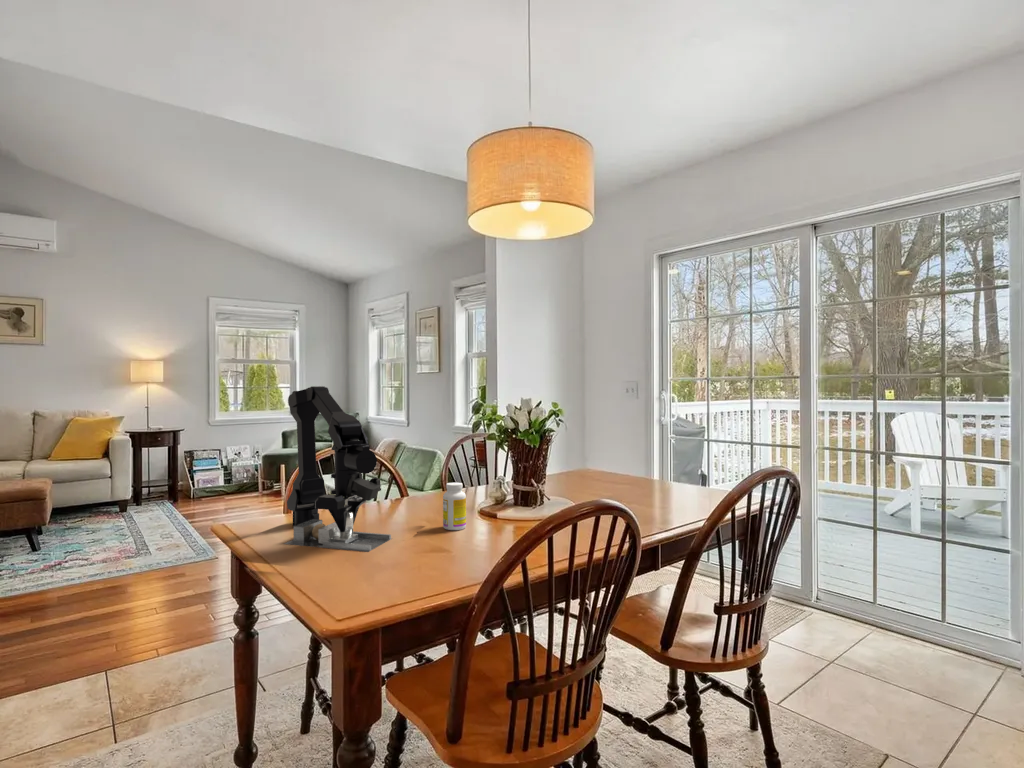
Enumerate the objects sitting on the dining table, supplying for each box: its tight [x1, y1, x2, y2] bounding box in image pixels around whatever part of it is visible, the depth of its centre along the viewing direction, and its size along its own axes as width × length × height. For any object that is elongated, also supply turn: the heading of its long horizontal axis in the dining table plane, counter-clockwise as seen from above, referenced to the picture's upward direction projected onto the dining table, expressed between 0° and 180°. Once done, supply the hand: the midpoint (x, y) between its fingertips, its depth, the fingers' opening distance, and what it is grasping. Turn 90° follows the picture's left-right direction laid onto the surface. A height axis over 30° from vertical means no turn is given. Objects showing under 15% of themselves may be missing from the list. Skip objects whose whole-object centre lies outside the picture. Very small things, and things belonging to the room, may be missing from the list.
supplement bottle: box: [442, 482, 467, 531], centre depth 166 cm, size 7×7×13 cm
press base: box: [283, 519, 392, 553], centre depth 147 cm, size 24×12×6 cm, turn 74°
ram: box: [319, 511, 358, 544], centre depth 147 cm, size 7×8×7 cm
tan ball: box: [312, 523, 327, 540], centre depth 149 cm, size 4×4×4 cm
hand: (346, 530), depth 147 cm, fingers closed on ram, 3 cm apart
